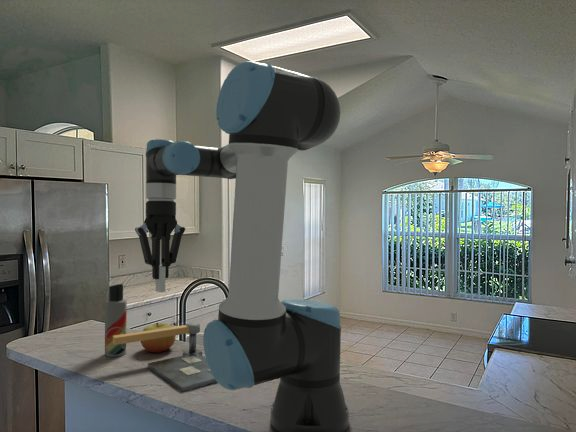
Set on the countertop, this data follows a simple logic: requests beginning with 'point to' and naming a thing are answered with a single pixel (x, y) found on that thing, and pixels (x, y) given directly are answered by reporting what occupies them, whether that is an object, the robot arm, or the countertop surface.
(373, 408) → the countertop surface
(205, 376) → the plate
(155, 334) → the cable arm
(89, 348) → the countertop surface
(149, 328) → the apple
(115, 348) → the lotion bottle
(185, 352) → the post
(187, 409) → the countertop surface
